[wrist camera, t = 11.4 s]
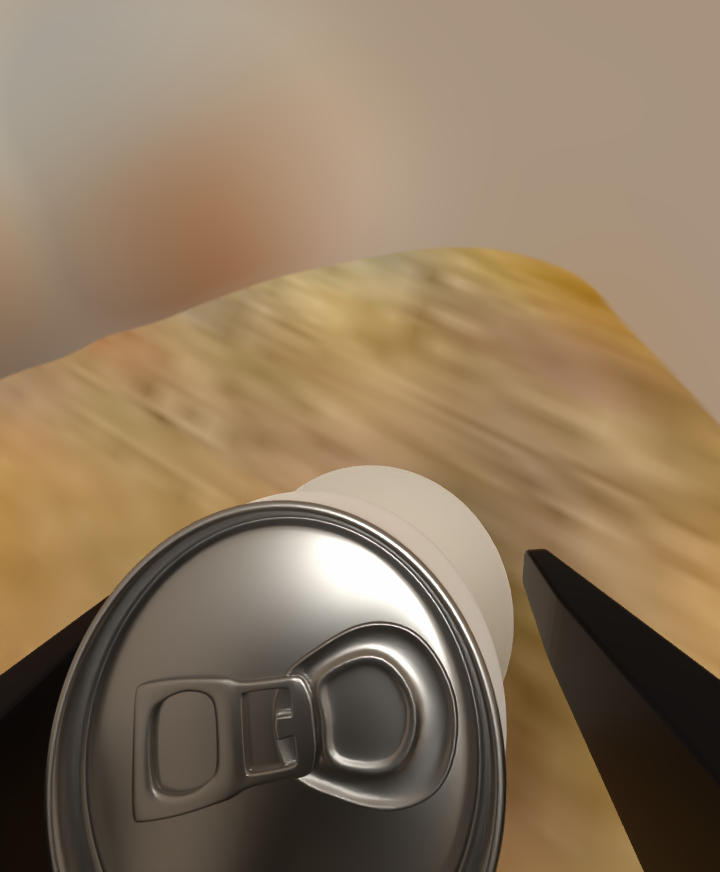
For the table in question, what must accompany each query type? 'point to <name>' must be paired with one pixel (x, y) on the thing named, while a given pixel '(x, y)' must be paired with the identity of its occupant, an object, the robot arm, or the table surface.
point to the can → (282, 704)
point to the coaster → (438, 536)
